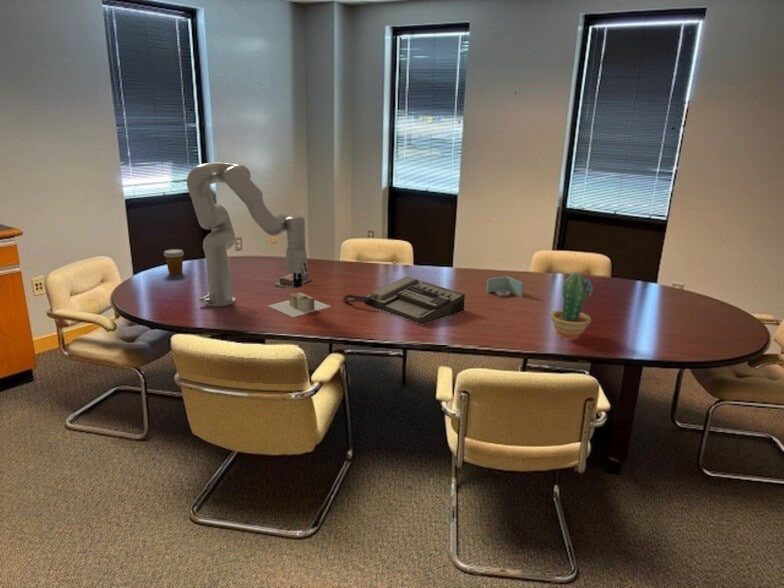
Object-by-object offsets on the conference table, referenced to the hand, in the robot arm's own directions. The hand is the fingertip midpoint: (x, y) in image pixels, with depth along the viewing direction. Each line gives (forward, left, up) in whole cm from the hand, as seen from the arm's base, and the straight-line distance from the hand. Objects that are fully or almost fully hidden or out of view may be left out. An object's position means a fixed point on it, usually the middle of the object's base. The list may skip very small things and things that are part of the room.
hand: (297, 286), depth 241 cm
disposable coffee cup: (-17, +83, -9) cm, 86 cm away
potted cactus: (+59, -97, -9) cm, 114 cm away
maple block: (0, +3, -6) cm, 7 cm away
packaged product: (+19, +31, -10) cm, 38 cm away
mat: (0, -1, -9) cm, 9 cm away
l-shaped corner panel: (+83, -50, -10) cm, 98 cm away
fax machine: (+33, -29, -10) cm, 45 cm away
